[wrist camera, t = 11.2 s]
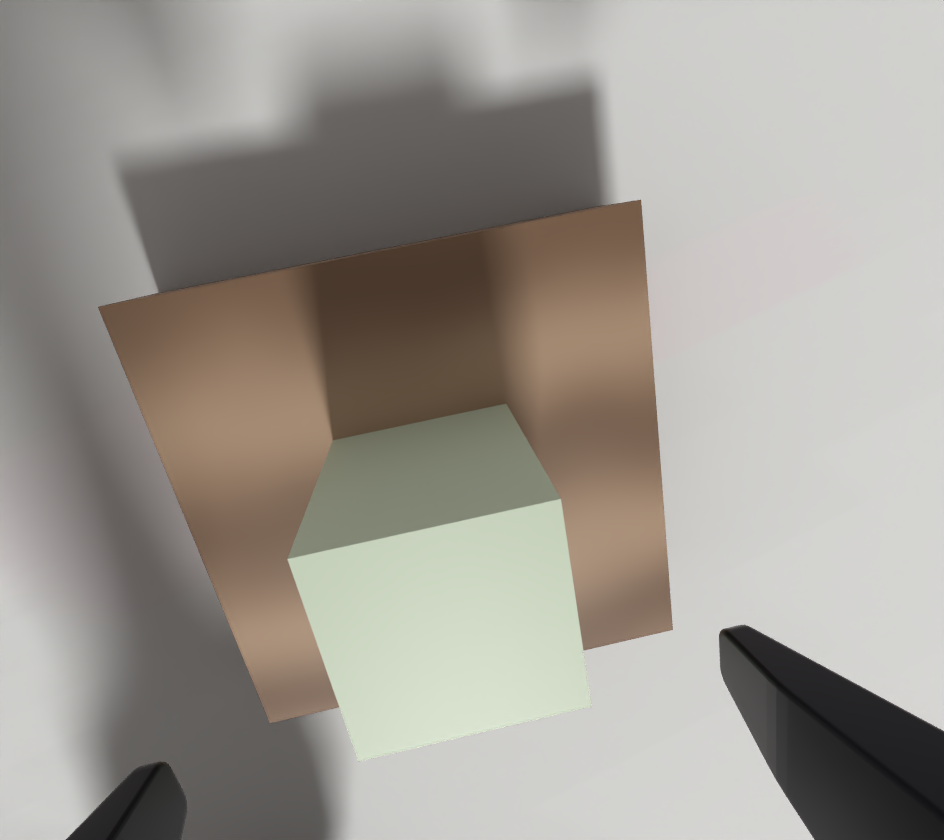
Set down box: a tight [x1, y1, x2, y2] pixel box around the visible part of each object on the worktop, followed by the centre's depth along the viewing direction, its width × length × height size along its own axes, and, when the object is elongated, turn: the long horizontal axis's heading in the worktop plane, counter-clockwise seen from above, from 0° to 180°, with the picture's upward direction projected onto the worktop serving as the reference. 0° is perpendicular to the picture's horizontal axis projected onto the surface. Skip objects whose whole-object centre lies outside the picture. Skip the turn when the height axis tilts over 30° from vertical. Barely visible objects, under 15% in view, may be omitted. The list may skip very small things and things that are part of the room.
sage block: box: [287, 404, 592, 762], centre depth 13 cm, size 5×5×6 cm
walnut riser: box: [98, 200, 673, 723], centre depth 18 cm, size 14×14×4 cm
